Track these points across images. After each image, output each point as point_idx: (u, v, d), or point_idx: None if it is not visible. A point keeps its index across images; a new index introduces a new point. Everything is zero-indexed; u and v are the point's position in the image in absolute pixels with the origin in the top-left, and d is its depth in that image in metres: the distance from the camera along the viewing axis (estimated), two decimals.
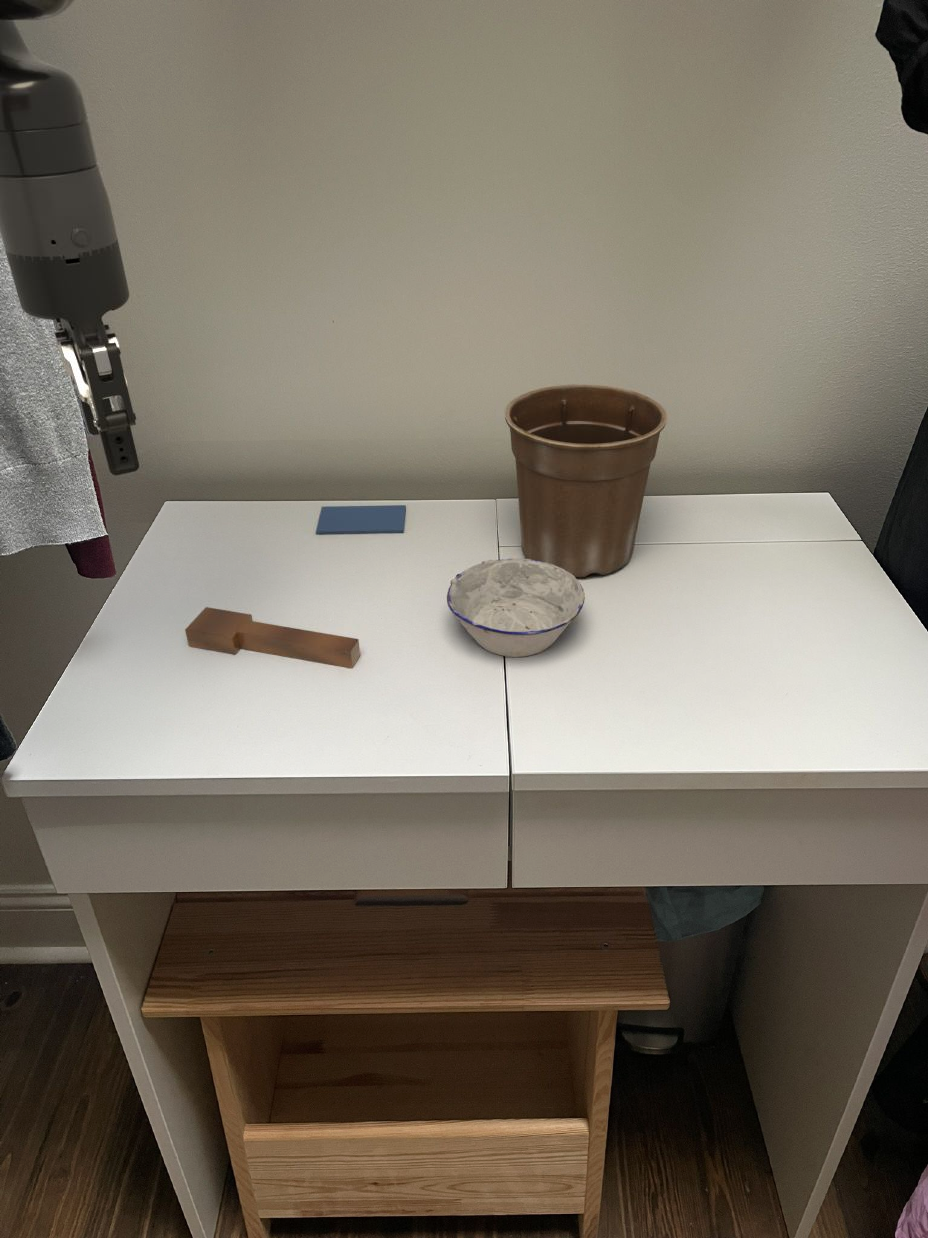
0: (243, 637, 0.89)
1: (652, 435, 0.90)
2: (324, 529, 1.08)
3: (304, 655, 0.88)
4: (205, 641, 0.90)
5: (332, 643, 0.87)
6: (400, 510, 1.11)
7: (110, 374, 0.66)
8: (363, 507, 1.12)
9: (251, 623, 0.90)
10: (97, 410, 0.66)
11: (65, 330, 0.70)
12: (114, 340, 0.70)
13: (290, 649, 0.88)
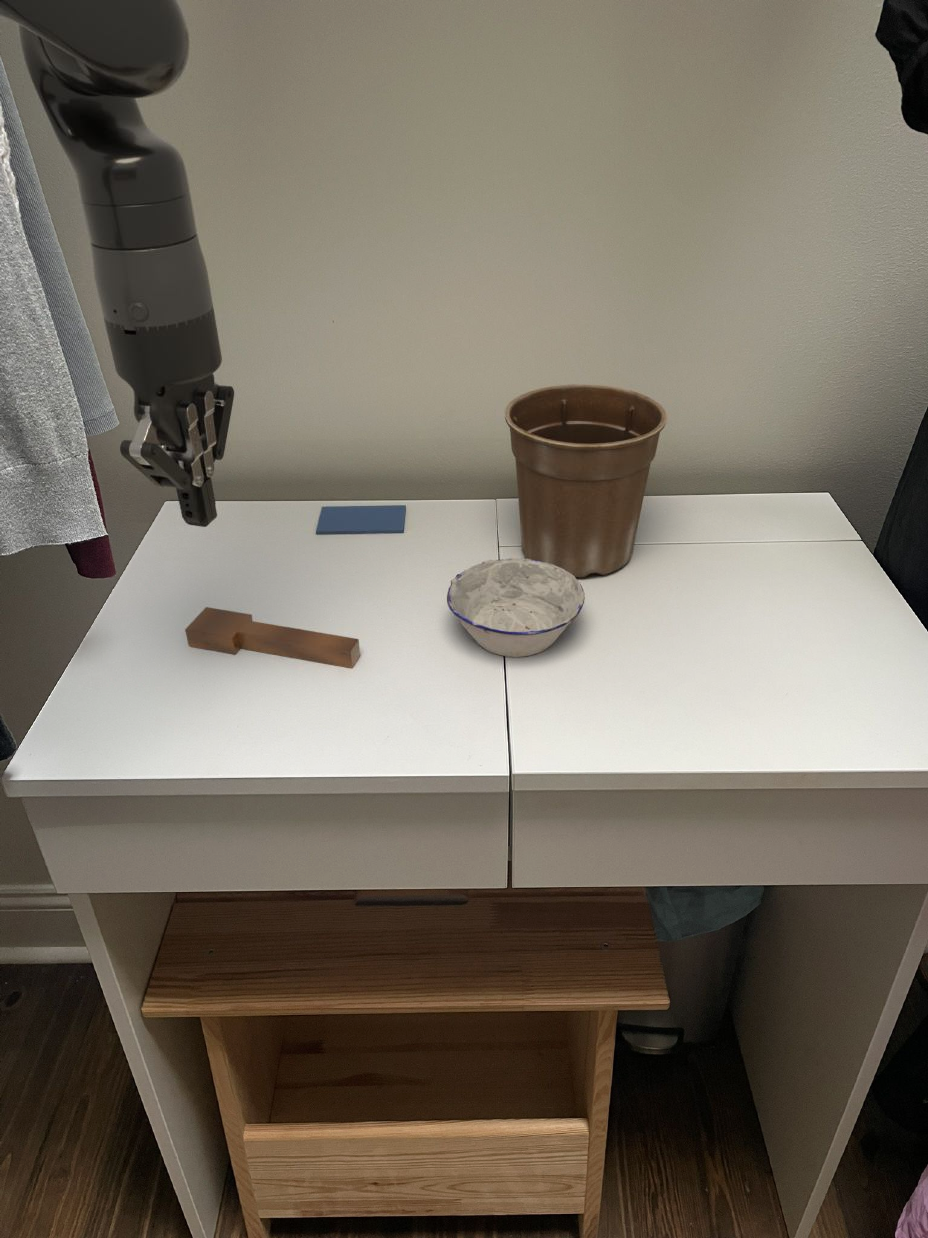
0: (243, 637, 0.89)
1: (652, 435, 0.90)
2: (324, 529, 1.08)
3: (304, 655, 0.88)
4: (205, 641, 0.90)
5: (332, 643, 0.87)
6: (400, 510, 1.11)
7: None
8: (363, 507, 1.12)
9: (251, 623, 0.90)
10: (149, 478, 0.70)
11: None
12: (185, 417, 0.69)
13: (290, 649, 0.88)
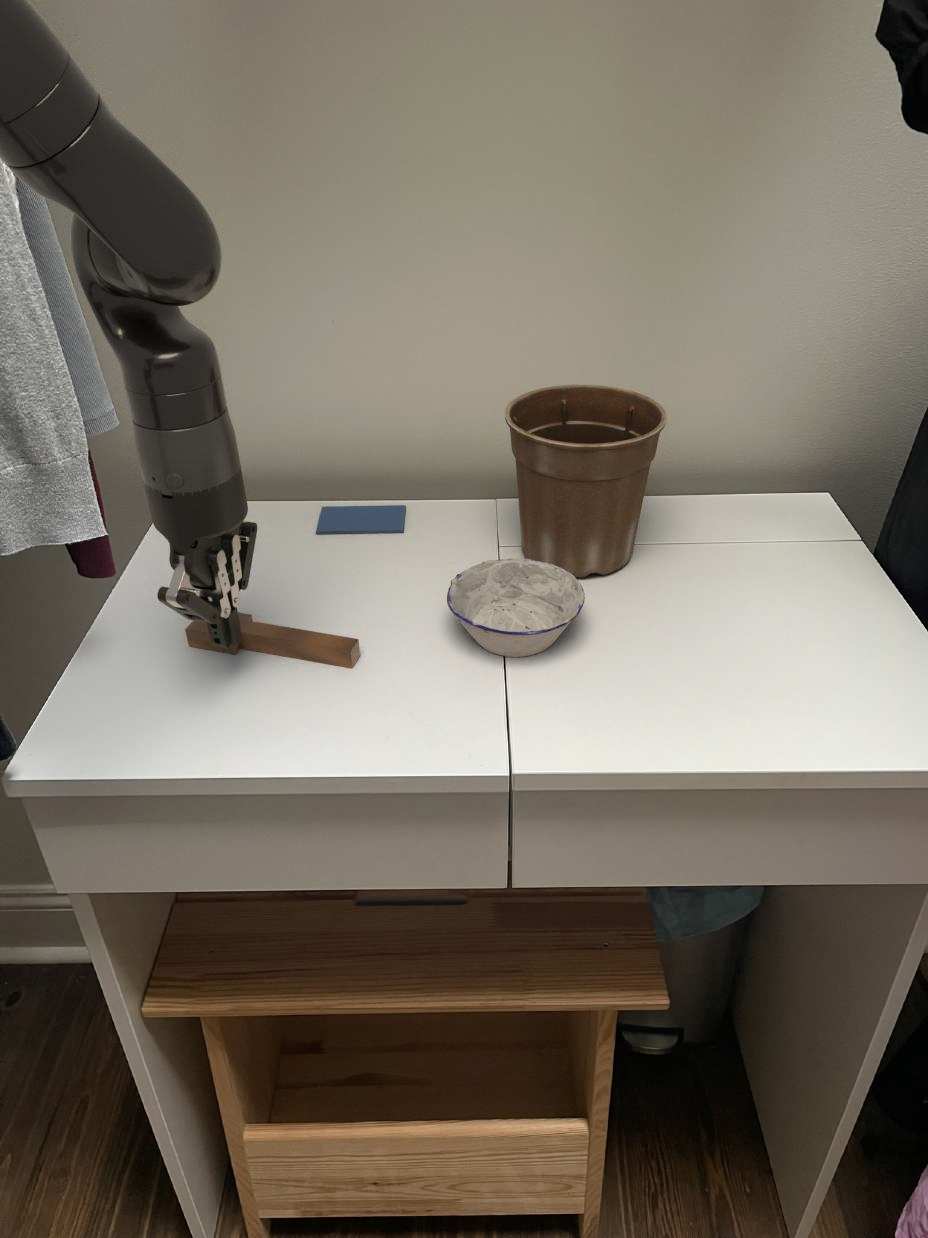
0: (243, 637, 0.89)
1: (652, 435, 0.90)
2: (324, 529, 1.08)
3: (304, 655, 0.88)
4: (205, 641, 0.90)
5: (332, 643, 0.87)
6: (400, 510, 1.11)
7: None
8: (363, 507, 1.12)
9: (251, 623, 0.90)
10: (182, 615, 0.78)
11: None
12: (215, 563, 0.76)
13: (290, 649, 0.88)
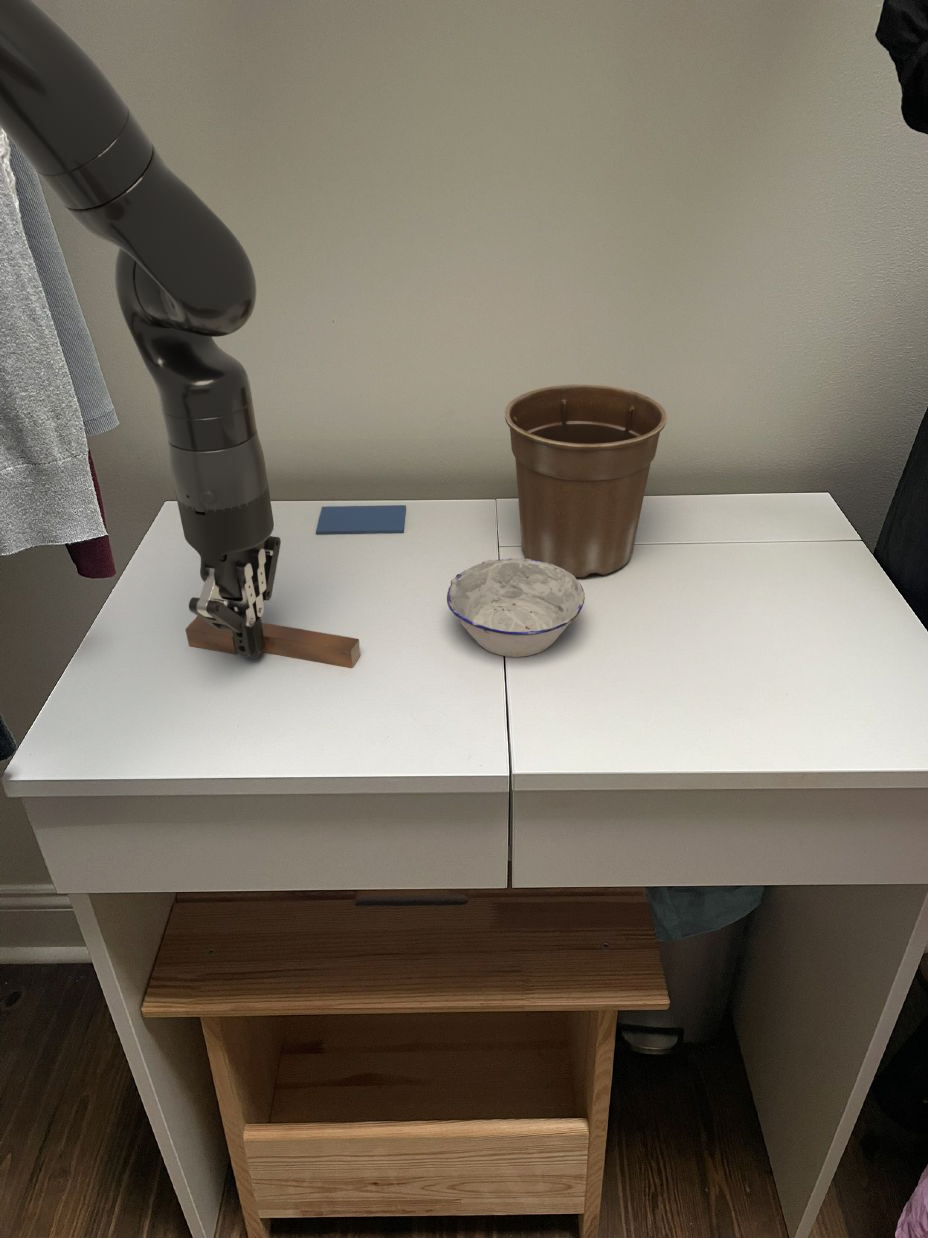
0: None
1: (652, 435, 0.90)
2: (324, 529, 1.08)
3: (304, 655, 0.88)
4: (206, 641, 0.90)
5: (332, 643, 0.87)
6: (400, 510, 1.11)
7: None
8: (363, 507, 1.12)
9: None
10: (210, 624, 0.82)
11: None
12: (243, 575, 0.81)
13: (290, 649, 0.88)
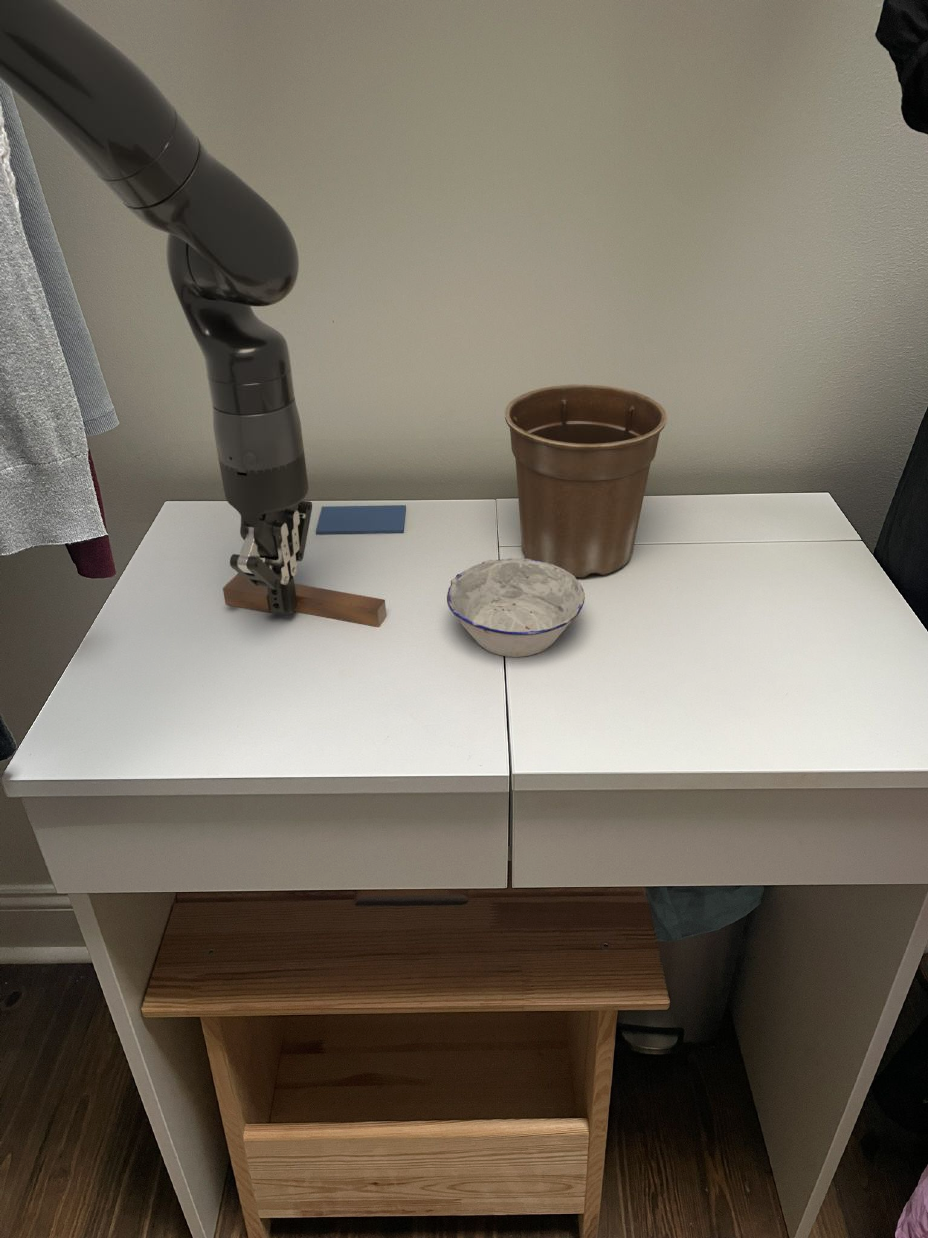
0: None
1: (652, 435, 0.90)
2: (324, 529, 1.08)
3: (334, 614, 0.94)
4: (241, 600, 0.95)
5: (360, 603, 0.93)
6: (400, 510, 1.11)
7: None
8: (363, 507, 1.12)
9: None
10: (248, 581, 0.88)
11: None
12: (279, 534, 0.86)
13: (320, 608, 0.94)
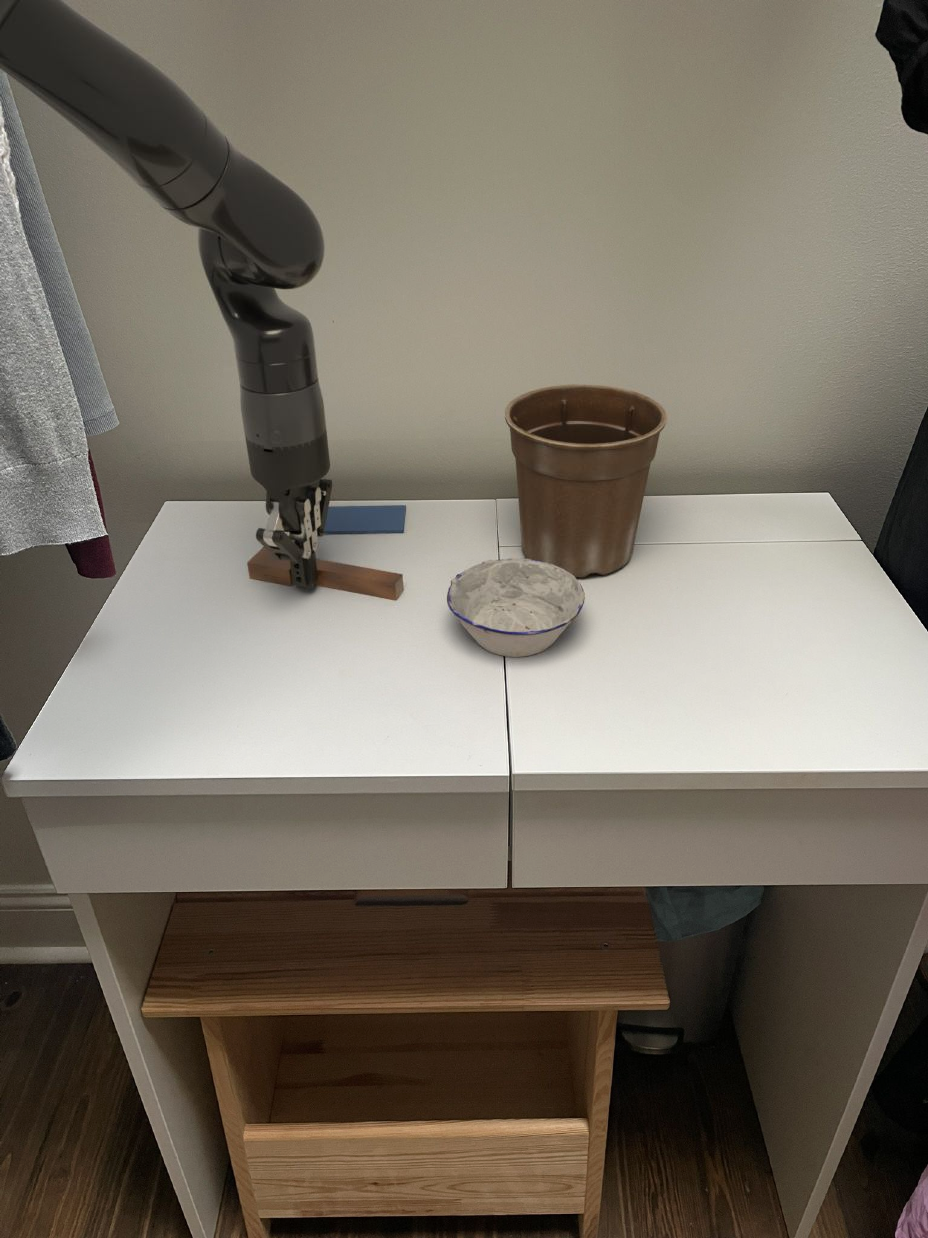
0: None
1: (652, 435, 0.90)
2: None
3: (353, 588, 0.98)
4: (265, 574, 0.99)
5: (379, 577, 0.96)
6: (400, 510, 1.11)
7: None
8: (363, 507, 1.12)
9: None
10: (272, 554, 0.92)
11: None
12: (303, 509, 0.90)
13: (341, 582, 0.98)
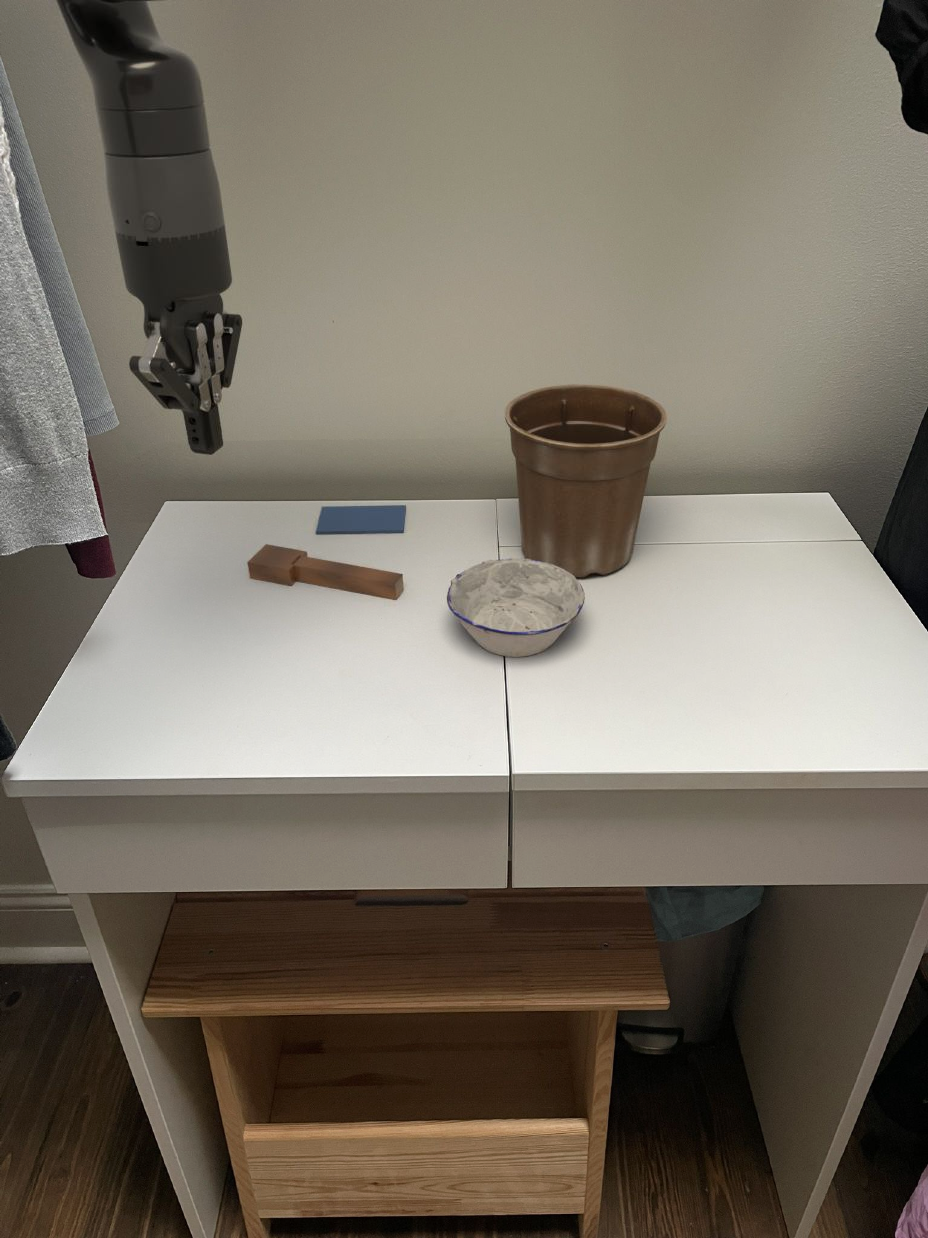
0: (298, 571, 0.99)
1: (652, 435, 0.90)
2: (324, 529, 1.08)
3: (353, 588, 0.98)
4: (265, 573, 0.99)
5: (379, 576, 0.96)
6: (400, 510, 1.11)
7: None
8: (363, 507, 1.12)
9: (306, 558, 1.00)
10: (157, 399, 0.70)
11: None
12: (195, 336, 0.69)
13: (341, 581, 0.98)
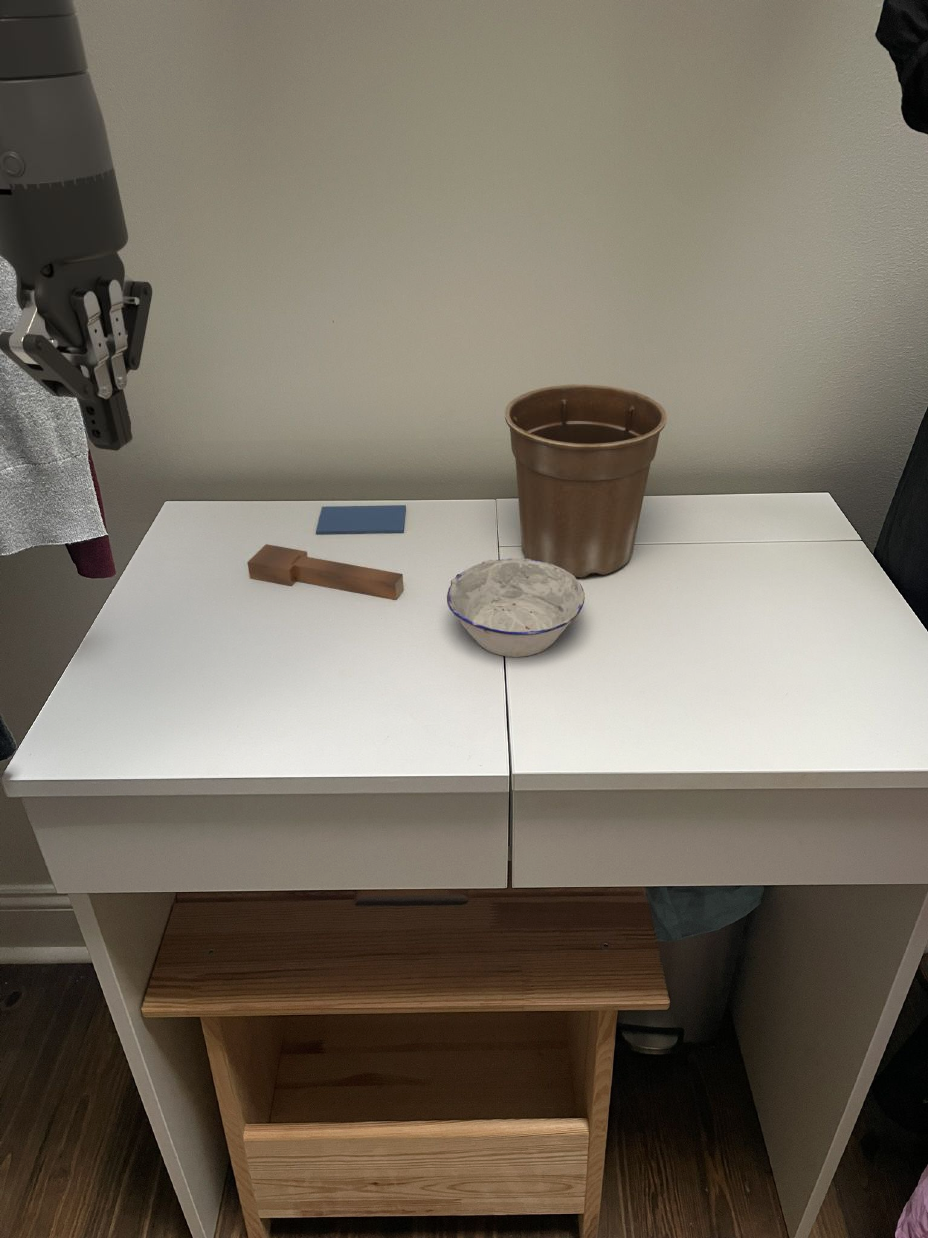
0: (298, 571, 0.99)
1: (652, 435, 0.90)
2: (324, 529, 1.08)
3: (353, 588, 0.98)
4: (265, 573, 0.99)
5: (379, 576, 0.96)
6: (400, 510, 1.11)
7: None
8: (363, 507, 1.12)
9: (306, 558, 1.00)
10: (41, 385, 0.58)
11: None
12: (83, 308, 0.56)
13: (341, 581, 0.98)
